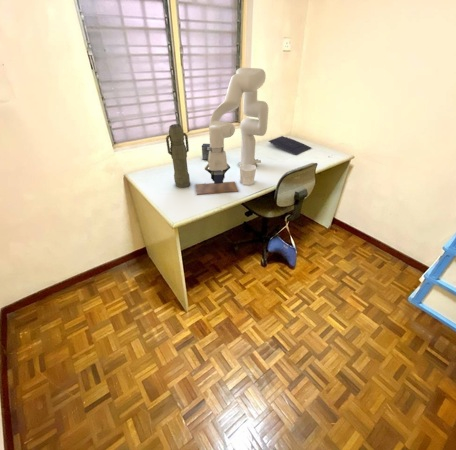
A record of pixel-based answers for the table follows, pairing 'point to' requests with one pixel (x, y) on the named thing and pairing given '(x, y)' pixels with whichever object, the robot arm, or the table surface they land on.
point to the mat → (216, 188)
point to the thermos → (178, 155)
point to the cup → (247, 174)
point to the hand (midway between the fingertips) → (217, 179)
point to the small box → (205, 151)
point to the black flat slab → (289, 145)
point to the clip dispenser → (218, 176)
